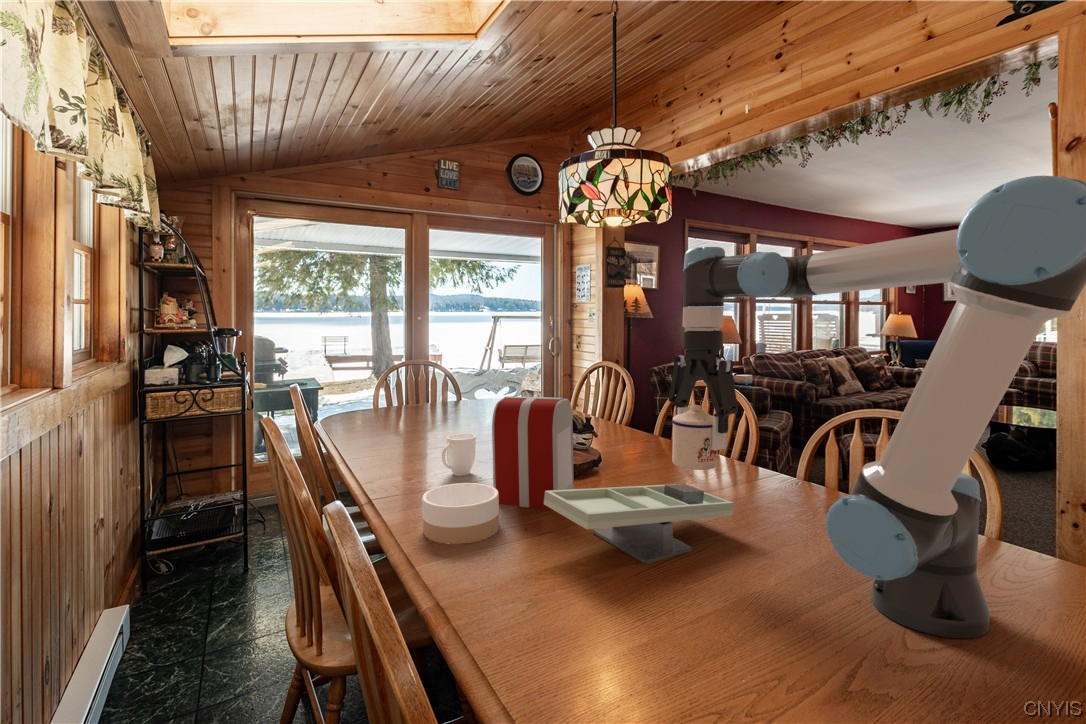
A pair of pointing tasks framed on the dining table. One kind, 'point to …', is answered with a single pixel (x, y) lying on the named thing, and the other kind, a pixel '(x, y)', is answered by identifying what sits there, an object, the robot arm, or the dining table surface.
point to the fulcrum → (645, 541)
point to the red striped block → (531, 449)
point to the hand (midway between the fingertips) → (700, 443)
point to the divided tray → (630, 506)
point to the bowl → (460, 513)
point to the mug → (460, 453)
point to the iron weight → (684, 493)
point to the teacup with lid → (693, 440)
